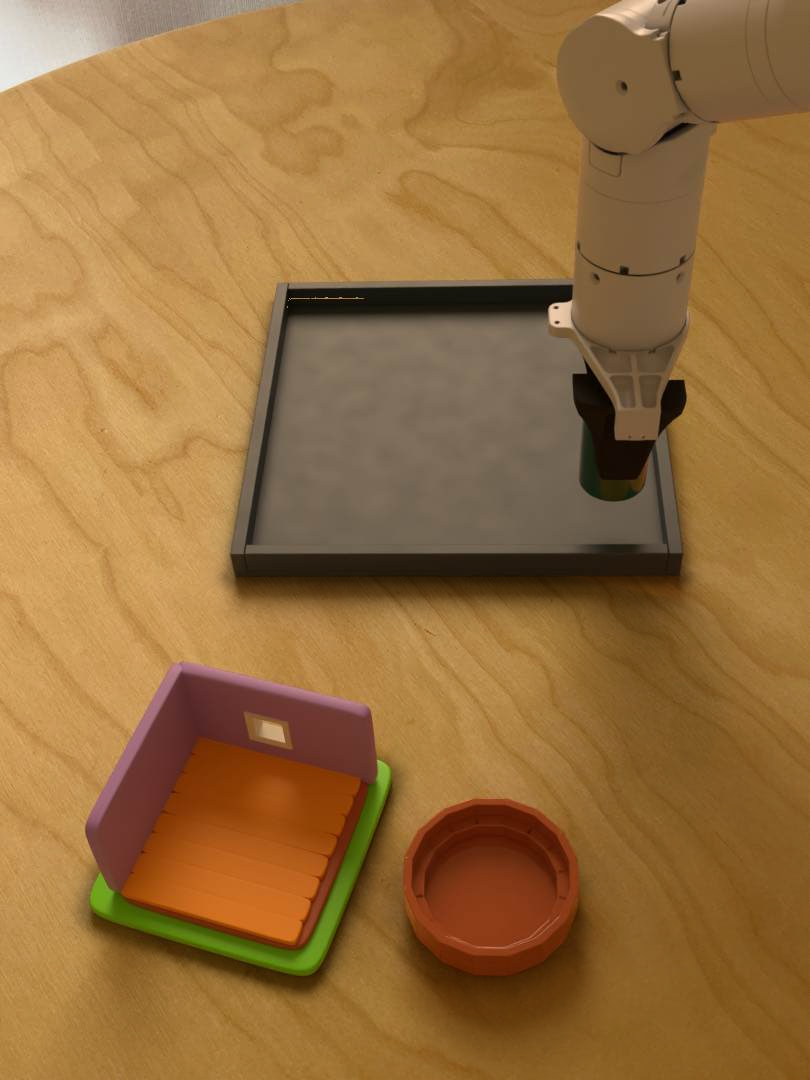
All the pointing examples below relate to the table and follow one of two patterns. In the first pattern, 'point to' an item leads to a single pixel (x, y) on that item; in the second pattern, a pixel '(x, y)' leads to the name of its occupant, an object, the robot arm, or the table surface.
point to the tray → (433, 442)
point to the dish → (491, 886)
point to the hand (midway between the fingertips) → (615, 447)
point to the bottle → (591, 478)
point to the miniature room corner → (239, 818)
